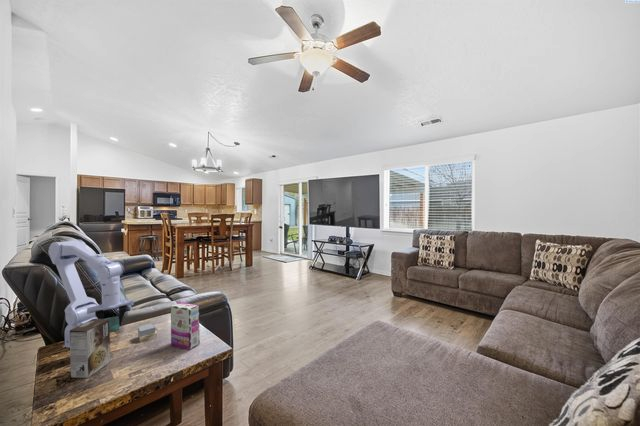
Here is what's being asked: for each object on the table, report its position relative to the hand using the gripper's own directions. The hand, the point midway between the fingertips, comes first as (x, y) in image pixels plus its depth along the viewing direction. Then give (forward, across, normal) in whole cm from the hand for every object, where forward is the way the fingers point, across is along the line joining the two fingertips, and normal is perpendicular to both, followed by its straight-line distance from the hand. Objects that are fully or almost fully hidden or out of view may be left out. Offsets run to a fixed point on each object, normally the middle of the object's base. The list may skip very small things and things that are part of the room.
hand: (111, 326), depth 103 cm
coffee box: (+9, -6, -13) cm, 17 cm away
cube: (+2, 0, 0) cm, 2 cm away
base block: (+9, +12, 0) cm, 15 cm away
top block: (+7, +12, +1) cm, 14 cm away
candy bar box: (+9, +23, -17) cm, 30 cm away
